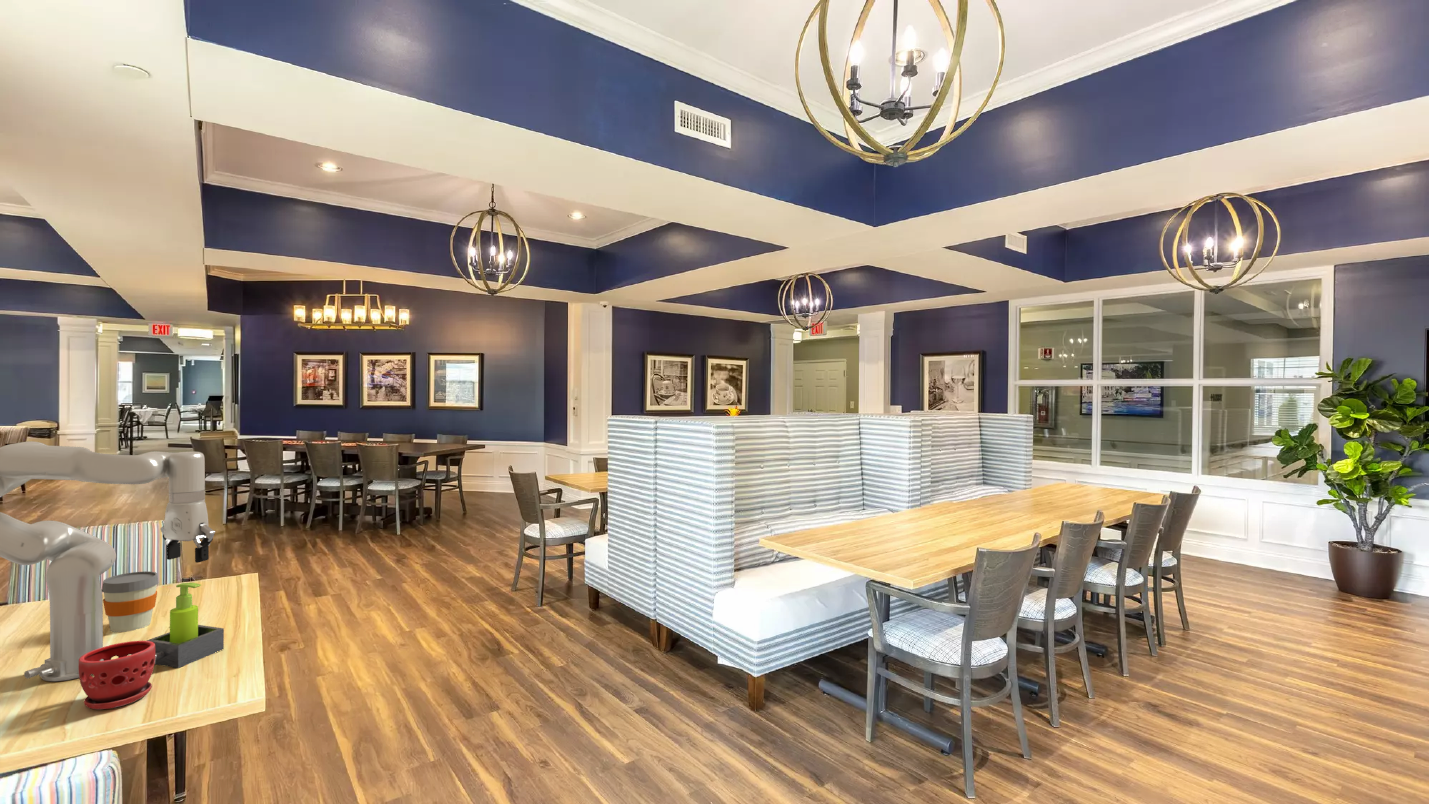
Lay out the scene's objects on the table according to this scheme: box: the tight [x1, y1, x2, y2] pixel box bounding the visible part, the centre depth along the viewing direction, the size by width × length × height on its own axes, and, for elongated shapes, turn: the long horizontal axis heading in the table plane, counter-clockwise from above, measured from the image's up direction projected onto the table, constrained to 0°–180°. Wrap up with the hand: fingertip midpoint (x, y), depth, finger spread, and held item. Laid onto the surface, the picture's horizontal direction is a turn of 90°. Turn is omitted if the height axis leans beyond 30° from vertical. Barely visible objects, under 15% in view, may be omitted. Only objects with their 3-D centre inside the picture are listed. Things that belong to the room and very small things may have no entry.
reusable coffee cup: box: [101, 570, 159, 633], centre depth 189 cm, size 12×13×15 cm
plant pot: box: [78, 640, 156, 710], centre depth 147 cm, size 13×13×12 cm
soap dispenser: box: [169, 582, 202, 644], centre depth 170 cm, size 6×7×20 cm
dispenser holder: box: [145, 624, 225, 669], centre depth 168 cm, size 17×11×6 cm, turn 167°
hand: (187, 559), depth 170 cm, fingers open, 9 cm apart
